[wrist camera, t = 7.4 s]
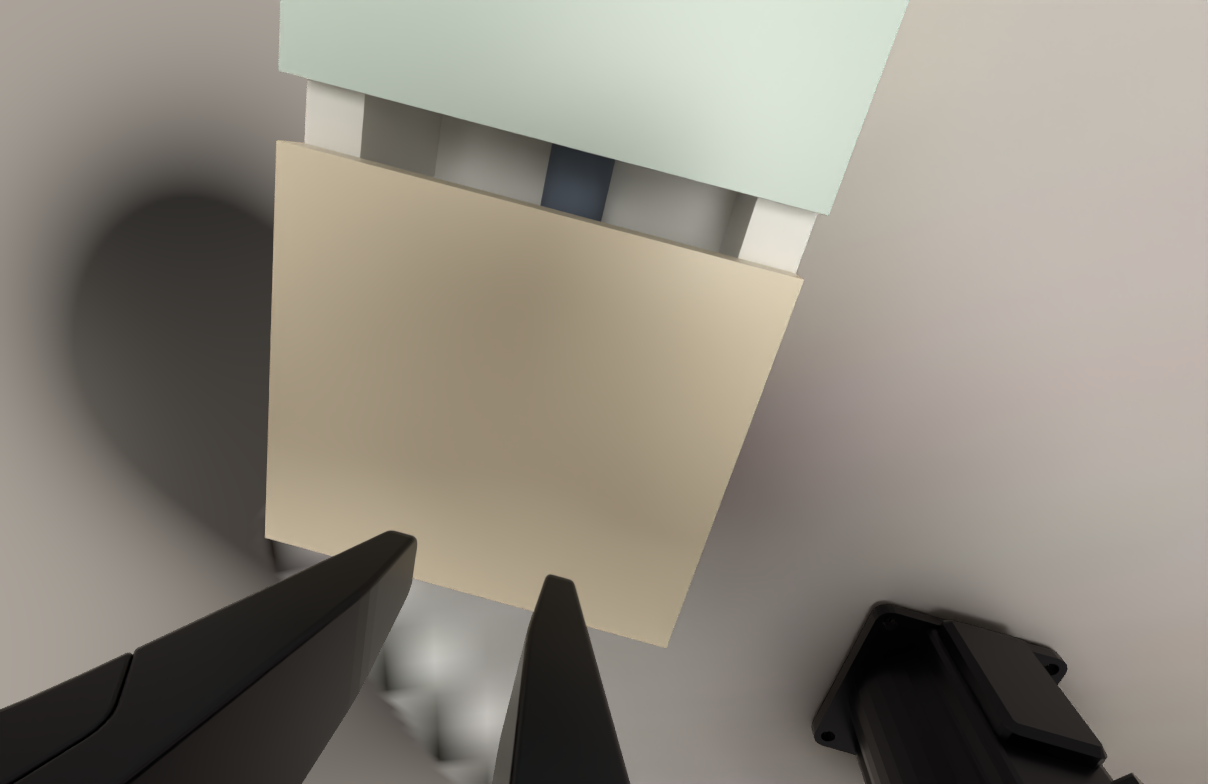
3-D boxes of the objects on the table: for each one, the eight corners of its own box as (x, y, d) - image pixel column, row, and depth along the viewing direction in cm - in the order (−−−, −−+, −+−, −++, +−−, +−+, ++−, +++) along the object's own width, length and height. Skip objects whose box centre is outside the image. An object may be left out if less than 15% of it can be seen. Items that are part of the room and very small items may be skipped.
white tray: (691, 526, 20) (696, 634, 15) (356, 432, 20) (258, 509, 15) (963, -234, 12) (1137, -484, 8) (430, -363, 13) (285, -678, 8)
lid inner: (666, 625, 15) (666, 648, 14) (285, 519, 15) (265, 537, 14) (795, 273, 12) (804, 280, 11) (301, 142, 12) (276, 139, 11)
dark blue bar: (552, 442, 18) (540, 466, 16) (502, 429, 18) (487, 451, 17) (701, -191, 12) (704, -242, 11) (629, -209, 12) (622, -262, 11)
